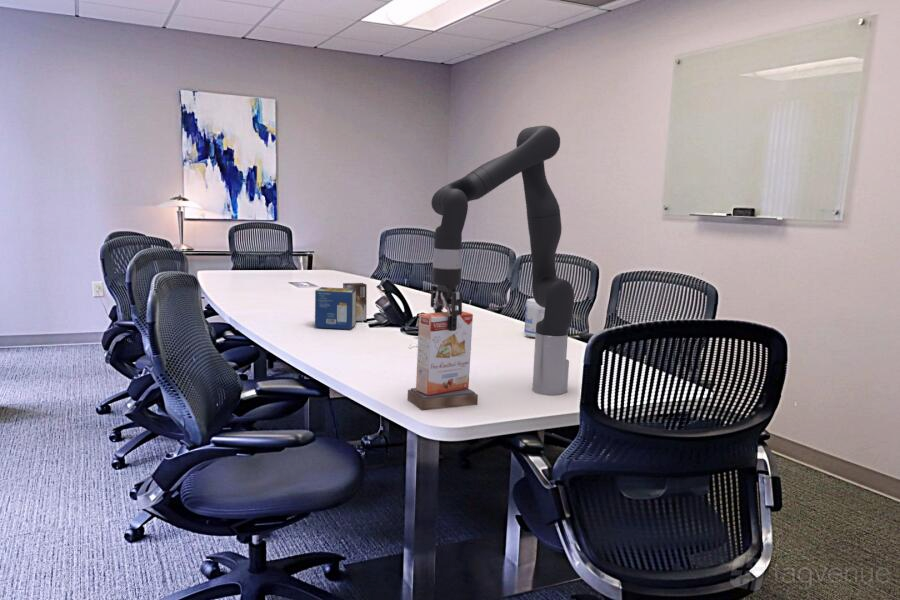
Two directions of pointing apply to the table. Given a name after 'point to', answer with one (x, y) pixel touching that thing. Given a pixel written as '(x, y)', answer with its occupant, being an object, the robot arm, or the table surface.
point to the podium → (442, 399)
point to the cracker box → (443, 353)
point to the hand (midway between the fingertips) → (444, 327)
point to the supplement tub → (532, 317)
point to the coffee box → (359, 299)
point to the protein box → (335, 308)
